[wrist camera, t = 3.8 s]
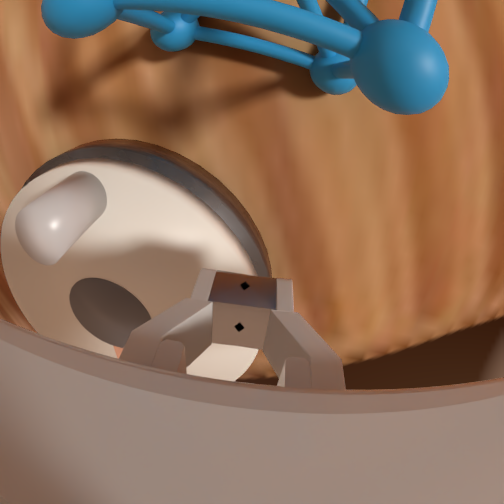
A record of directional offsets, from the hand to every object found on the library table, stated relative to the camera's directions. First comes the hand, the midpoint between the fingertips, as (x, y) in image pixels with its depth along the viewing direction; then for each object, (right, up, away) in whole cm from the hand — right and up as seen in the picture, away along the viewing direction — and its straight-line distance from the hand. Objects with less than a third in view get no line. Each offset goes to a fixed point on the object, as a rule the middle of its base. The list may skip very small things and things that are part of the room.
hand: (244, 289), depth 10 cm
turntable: (-9, -2, +8) cm, 12 cm away
